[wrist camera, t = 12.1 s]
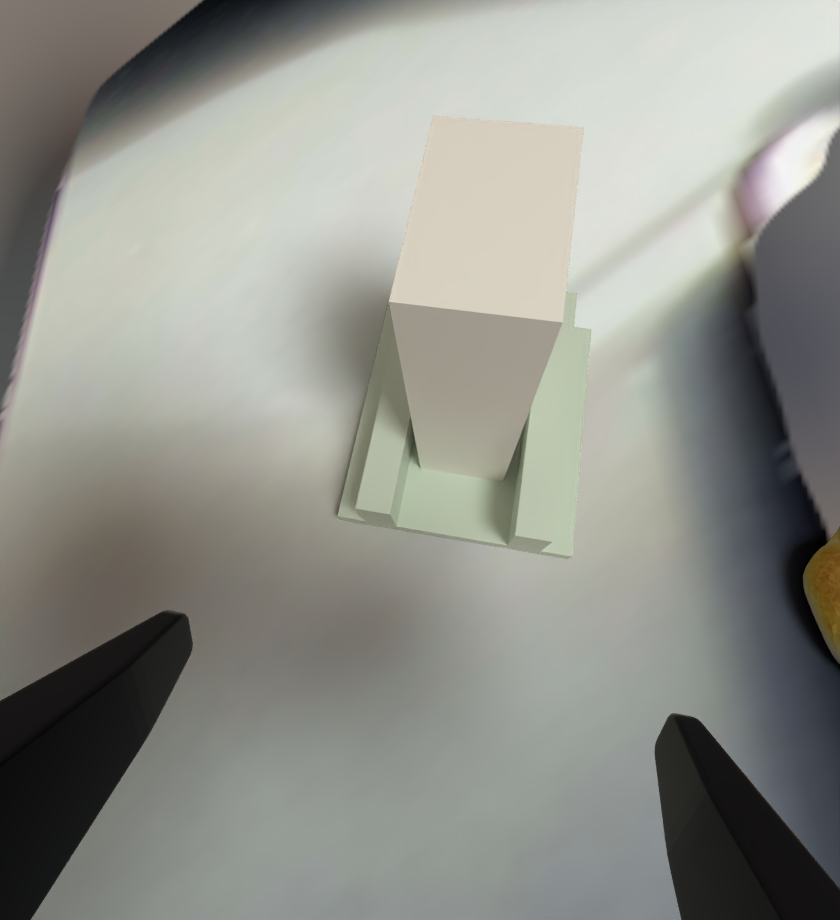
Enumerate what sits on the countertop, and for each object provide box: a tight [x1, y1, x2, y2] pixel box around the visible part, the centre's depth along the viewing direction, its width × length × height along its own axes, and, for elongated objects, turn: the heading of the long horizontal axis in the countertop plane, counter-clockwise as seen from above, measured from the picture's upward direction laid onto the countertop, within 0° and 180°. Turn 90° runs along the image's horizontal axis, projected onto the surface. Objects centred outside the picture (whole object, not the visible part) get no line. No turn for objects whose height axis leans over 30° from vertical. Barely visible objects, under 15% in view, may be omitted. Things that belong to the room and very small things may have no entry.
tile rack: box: [338, 292, 591, 559], centre depth 23 cm, size 12×11×4 cm
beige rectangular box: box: [389, 116, 584, 482], centre depth 18 cm, size 6×4×13 cm, turn 170°
